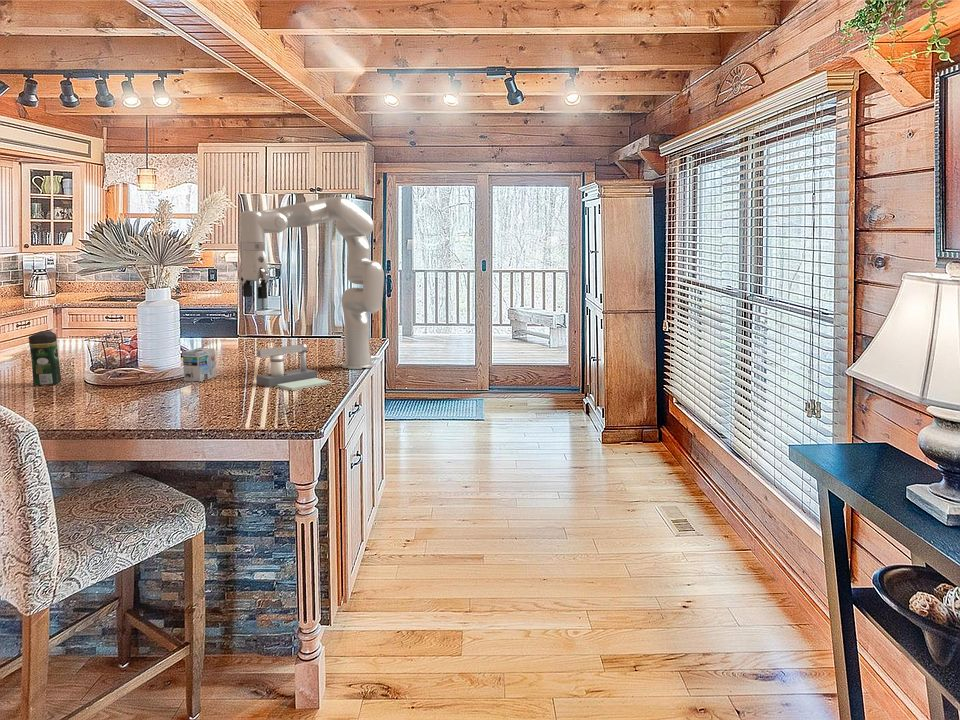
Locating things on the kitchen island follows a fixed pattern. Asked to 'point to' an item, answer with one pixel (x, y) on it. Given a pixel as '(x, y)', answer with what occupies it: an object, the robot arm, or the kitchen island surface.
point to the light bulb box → (199, 364)
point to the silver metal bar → (282, 350)
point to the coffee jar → (44, 358)
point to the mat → (303, 384)
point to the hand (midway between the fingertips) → (255, 297)
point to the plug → (277, 365)
